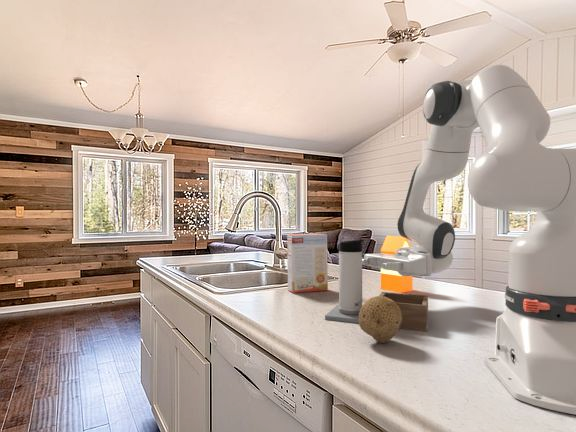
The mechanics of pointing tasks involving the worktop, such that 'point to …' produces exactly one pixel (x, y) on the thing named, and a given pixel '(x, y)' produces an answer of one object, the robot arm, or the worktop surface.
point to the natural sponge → (380, 318)
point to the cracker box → (307, 262)
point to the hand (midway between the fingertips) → (372, 264)
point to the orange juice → (393, 278)
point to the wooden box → (411, 310)
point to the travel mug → (350, 277)
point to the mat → (341, 316)
